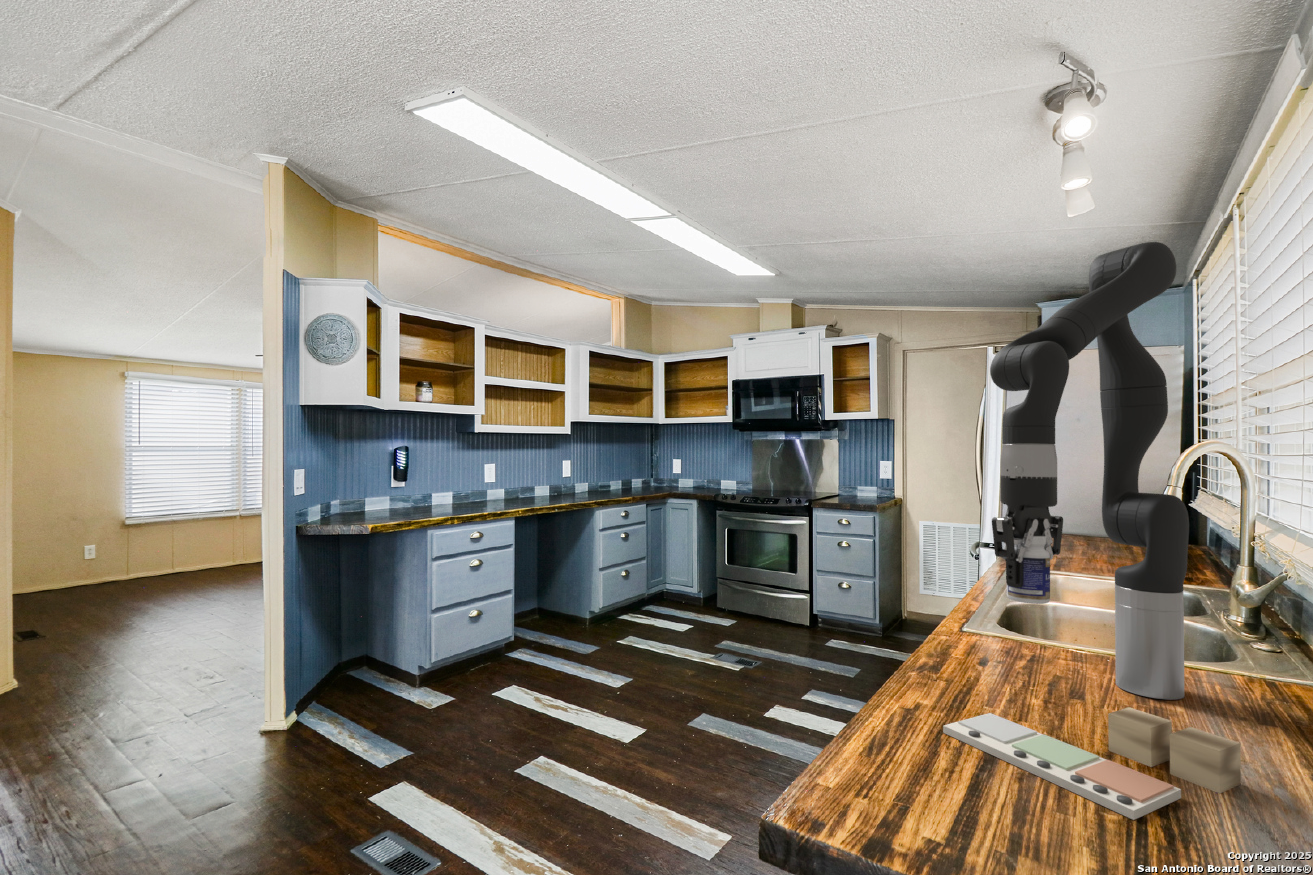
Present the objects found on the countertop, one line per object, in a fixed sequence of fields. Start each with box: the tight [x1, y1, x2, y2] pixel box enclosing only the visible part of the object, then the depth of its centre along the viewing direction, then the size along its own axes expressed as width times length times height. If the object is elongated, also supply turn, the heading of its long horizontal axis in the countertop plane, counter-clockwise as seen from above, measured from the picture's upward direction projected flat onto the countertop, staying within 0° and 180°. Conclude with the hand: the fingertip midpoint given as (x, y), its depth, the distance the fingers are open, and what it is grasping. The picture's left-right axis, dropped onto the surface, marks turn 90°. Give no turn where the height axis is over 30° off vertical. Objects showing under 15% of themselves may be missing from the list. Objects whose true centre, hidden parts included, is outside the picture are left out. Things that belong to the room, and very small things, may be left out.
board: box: [942, 712, 1182, 821], centre depth 82 cm, size 10×24×1 cm, turn 27°
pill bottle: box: [1006, 536, 1051, 605], centre depth 97 cm, size 6×6×10 cm
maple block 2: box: [1169, 726, 1242, 794], centre depth 78 cm, size 5×5×5 cm
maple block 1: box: [1107, 706, 1173, 768], centre depth 84 cm, size 5×5×5 cm
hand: (1028, 584), depth 97 cm, fingers closed on pill bottle, 5 cm apart
